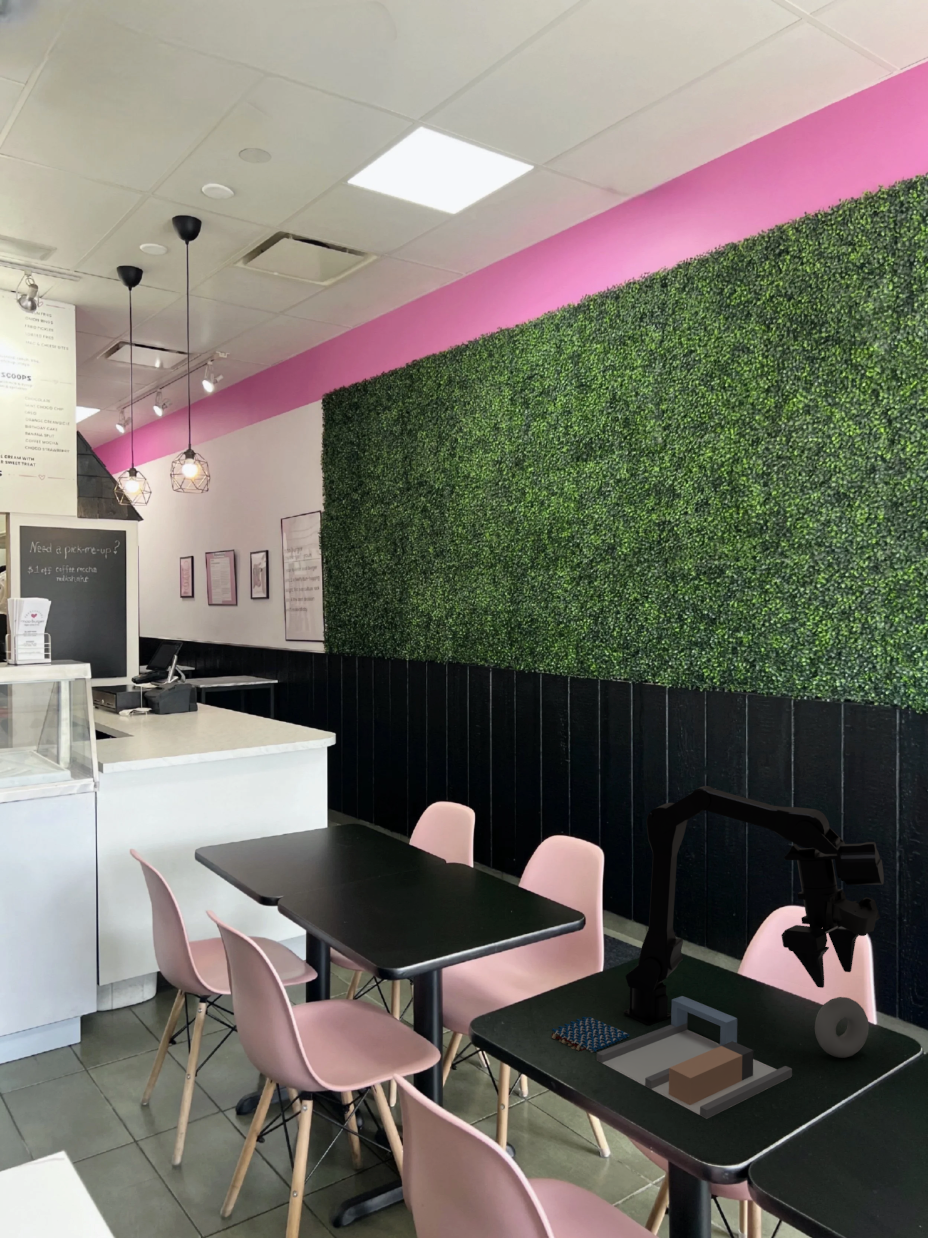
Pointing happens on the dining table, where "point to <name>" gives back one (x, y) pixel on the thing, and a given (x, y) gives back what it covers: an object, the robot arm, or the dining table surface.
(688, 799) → the robot arm
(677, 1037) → the grey tray
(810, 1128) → the dining table surface
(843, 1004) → the donut
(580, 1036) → the woven mat
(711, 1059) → the two-tone brown block
